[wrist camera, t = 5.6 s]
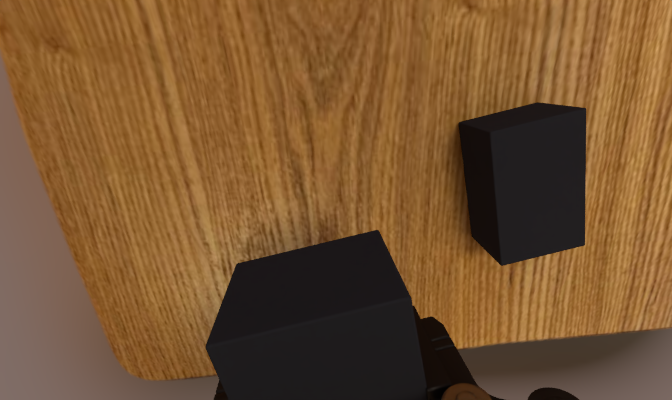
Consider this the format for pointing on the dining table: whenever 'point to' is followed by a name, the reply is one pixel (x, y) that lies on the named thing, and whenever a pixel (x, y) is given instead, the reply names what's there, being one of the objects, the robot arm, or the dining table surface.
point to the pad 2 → (526, 180)
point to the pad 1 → (319, 326)
